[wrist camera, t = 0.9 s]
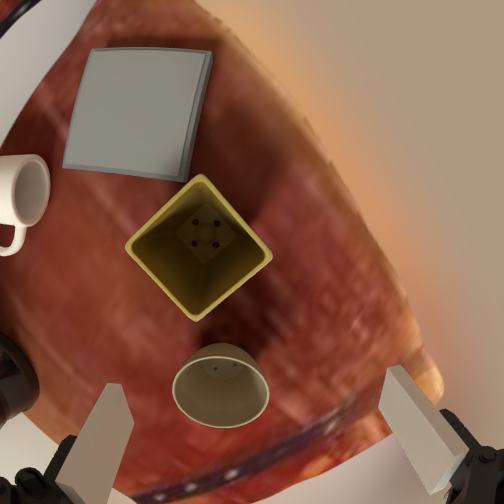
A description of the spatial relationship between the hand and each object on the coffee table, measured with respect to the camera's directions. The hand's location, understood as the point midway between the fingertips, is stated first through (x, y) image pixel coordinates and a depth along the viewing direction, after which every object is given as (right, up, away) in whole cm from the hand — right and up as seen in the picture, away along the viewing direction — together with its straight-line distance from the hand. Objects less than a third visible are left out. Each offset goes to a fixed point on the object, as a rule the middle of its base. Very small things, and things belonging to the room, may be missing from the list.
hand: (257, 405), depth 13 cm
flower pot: (-5, +9, +19) cm, 22 cm away
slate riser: (-13, +22, +16) cm, 30 cm away
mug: (-30, +13, +17) cm, 37 cm away
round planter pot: (-4, -6, +22) cm, 24 cm away
